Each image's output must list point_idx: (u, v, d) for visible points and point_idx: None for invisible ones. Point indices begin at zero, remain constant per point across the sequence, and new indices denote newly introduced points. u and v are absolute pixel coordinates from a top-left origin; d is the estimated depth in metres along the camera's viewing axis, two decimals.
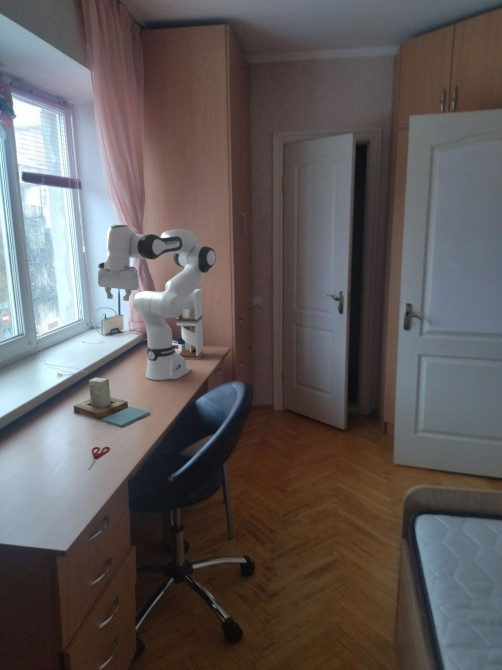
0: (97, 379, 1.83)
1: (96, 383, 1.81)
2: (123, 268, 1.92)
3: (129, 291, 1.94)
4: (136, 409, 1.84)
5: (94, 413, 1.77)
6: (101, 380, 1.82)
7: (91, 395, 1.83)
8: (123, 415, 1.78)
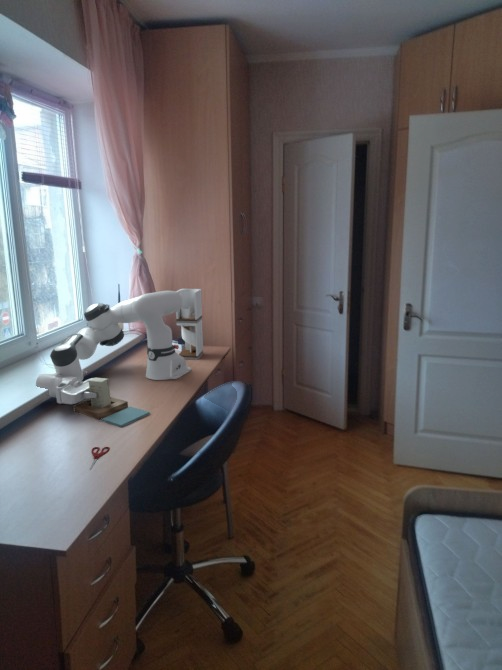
0: (97, 379, 1.83)
1: (96, 383, 1.81)
2: None
3: None
4: (136, 409, 1.84)
5: (94, 413, 1.77)
6: (101, 380, 1.82)
7: None
8: (123, 415, 1.78)
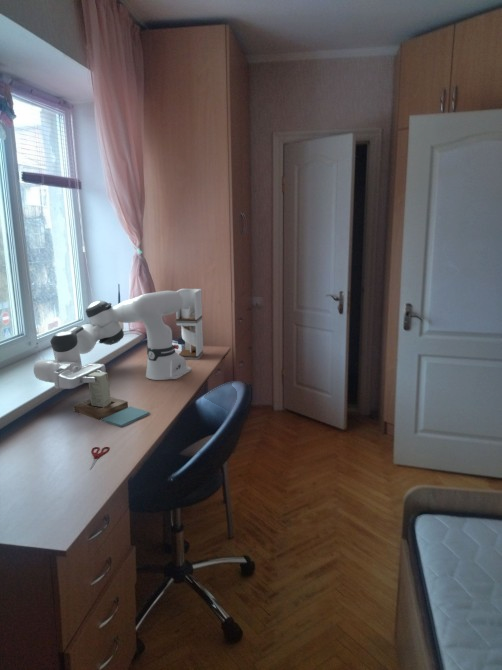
0: (96, 373, 1.82)
1: None
2: None
3: None
4: (136, 409, 1.84)
5: (94, 413, 1.77)
6: (100, 374, 1.81)
7: (90, 390, 1.82)
8: (123, 415, 1.78)
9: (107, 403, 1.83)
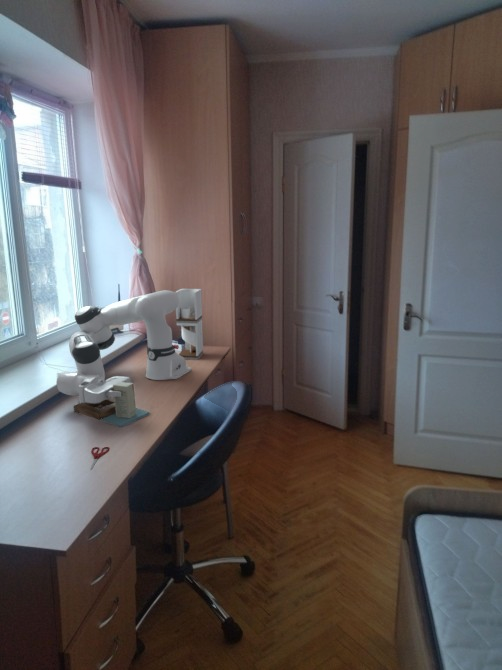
0: (122, 383, 1.76)
1: (121, 388, 1.74)
2: None
3: None
4: (136, 409, 1.84)
5: (94, 413, 1.77)
6: (126, 385, 1.74)
7: (116, 400, 1.76)
8: None
9: (132, 414, 1.77)
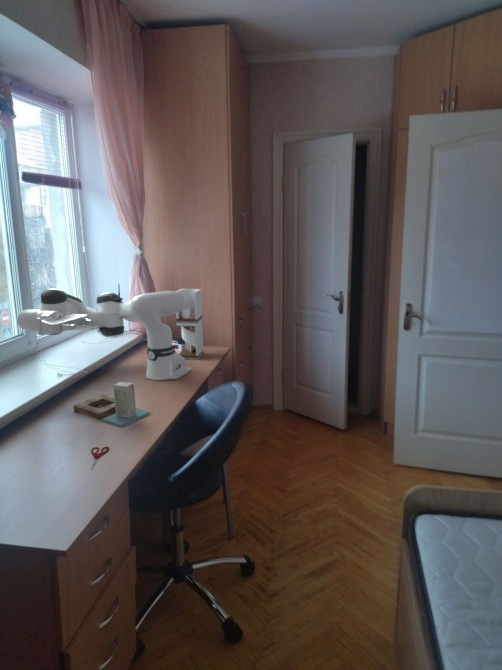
0: (122, 383, 1.76)
1: (121, 388, 1.74)
2: None
3: None
4: (136, 409, 1.84)
5: (94, 413, 1.77)
6: (126, 385, 1.74)
7: (116, 400, 1.76)
8: None
9: (132, 414, 1.77)
